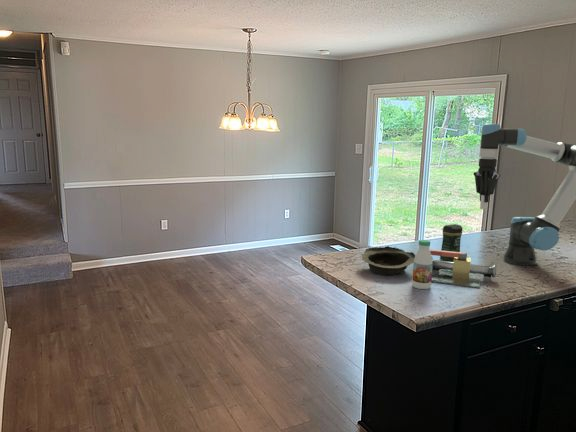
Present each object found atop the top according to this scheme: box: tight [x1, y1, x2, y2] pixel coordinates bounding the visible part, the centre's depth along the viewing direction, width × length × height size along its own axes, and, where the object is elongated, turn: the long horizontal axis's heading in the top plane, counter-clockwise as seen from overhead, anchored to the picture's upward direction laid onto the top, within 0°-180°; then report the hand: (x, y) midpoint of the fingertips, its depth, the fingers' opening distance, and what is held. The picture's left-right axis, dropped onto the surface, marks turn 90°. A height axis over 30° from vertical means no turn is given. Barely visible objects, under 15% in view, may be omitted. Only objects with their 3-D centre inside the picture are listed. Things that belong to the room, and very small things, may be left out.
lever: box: [429, 248, 468, 260], centre depth 211 cm, size 16×4×2 cm, turn 71°
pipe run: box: [431, 257, 497, 289], centre depth 209 cm, size 32×22×8 cm
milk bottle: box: [411, 239, 434, 290], centre depth 196 cm, size 8×8×20 cm
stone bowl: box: [361, 245, 416, 276], centre depth 218 cm, size 25×25×9 cm
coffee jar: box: [439, 223, 463, 262], centre depth 236 cm, size 10×8×19 cm
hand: (483, 208), depth 218 cm, fingers closed
